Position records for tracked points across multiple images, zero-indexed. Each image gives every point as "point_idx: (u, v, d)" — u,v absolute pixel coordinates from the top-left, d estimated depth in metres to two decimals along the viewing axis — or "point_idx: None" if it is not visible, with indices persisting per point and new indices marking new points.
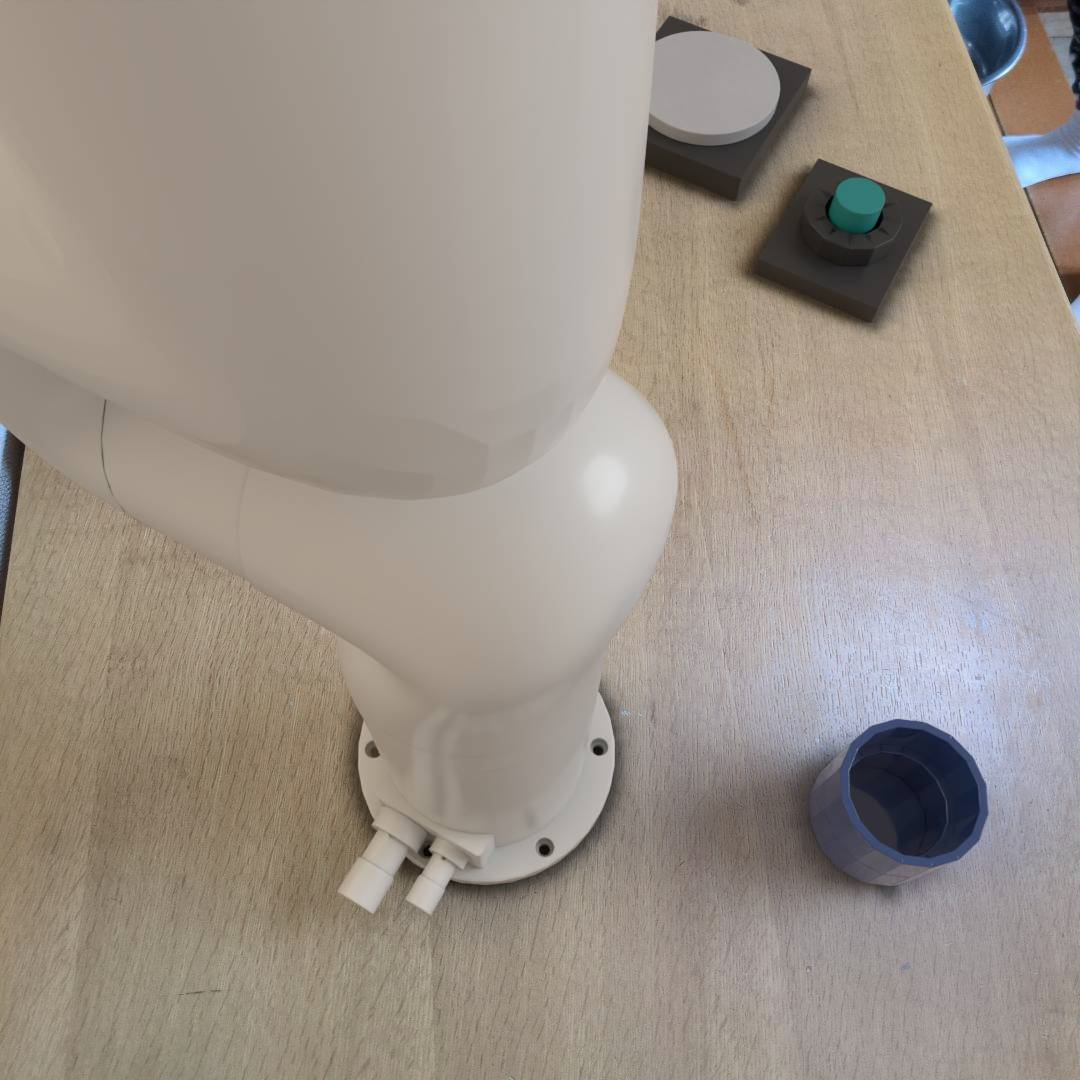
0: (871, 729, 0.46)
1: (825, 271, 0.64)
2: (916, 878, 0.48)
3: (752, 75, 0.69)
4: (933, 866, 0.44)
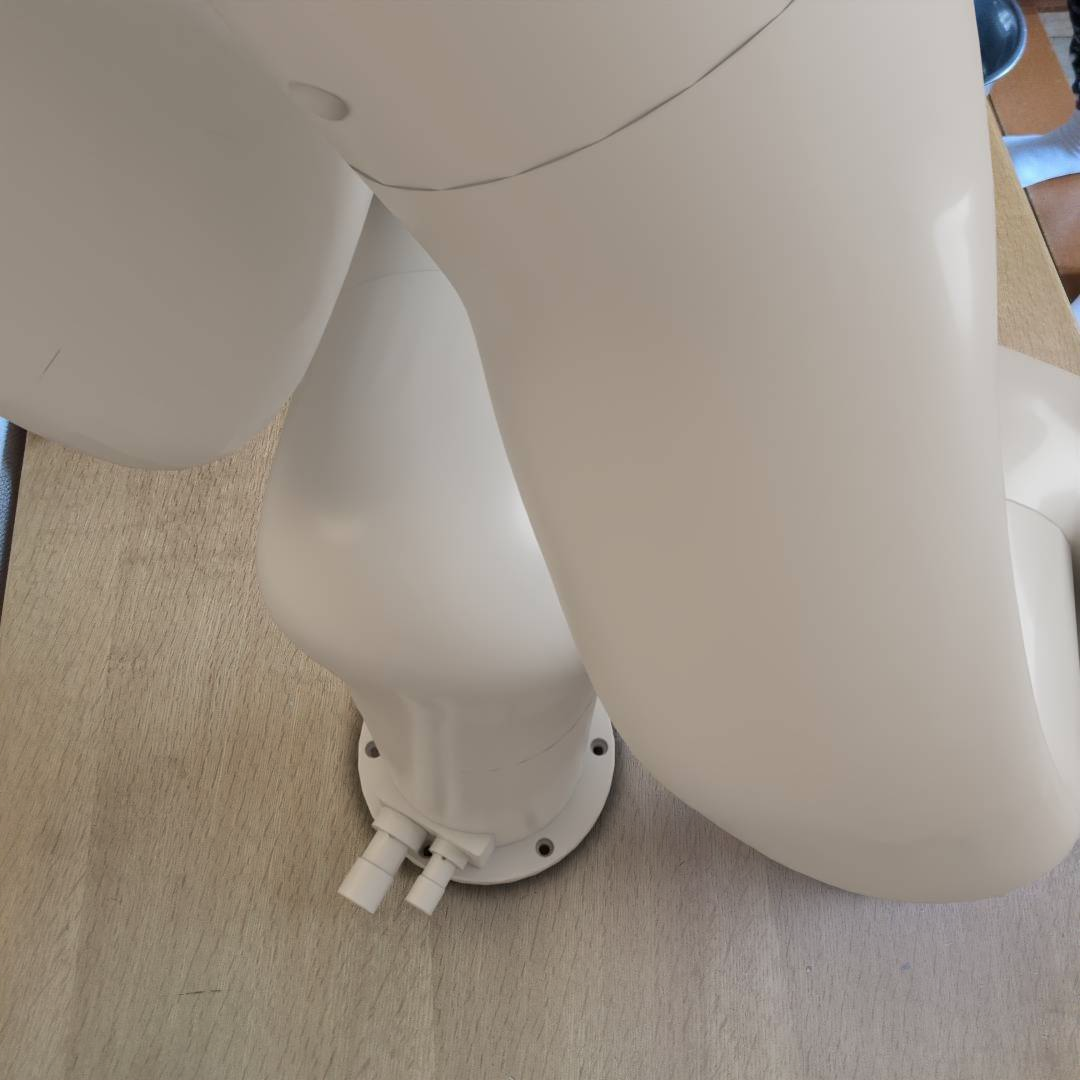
0: None
1: None
2: None
3: None
4: None
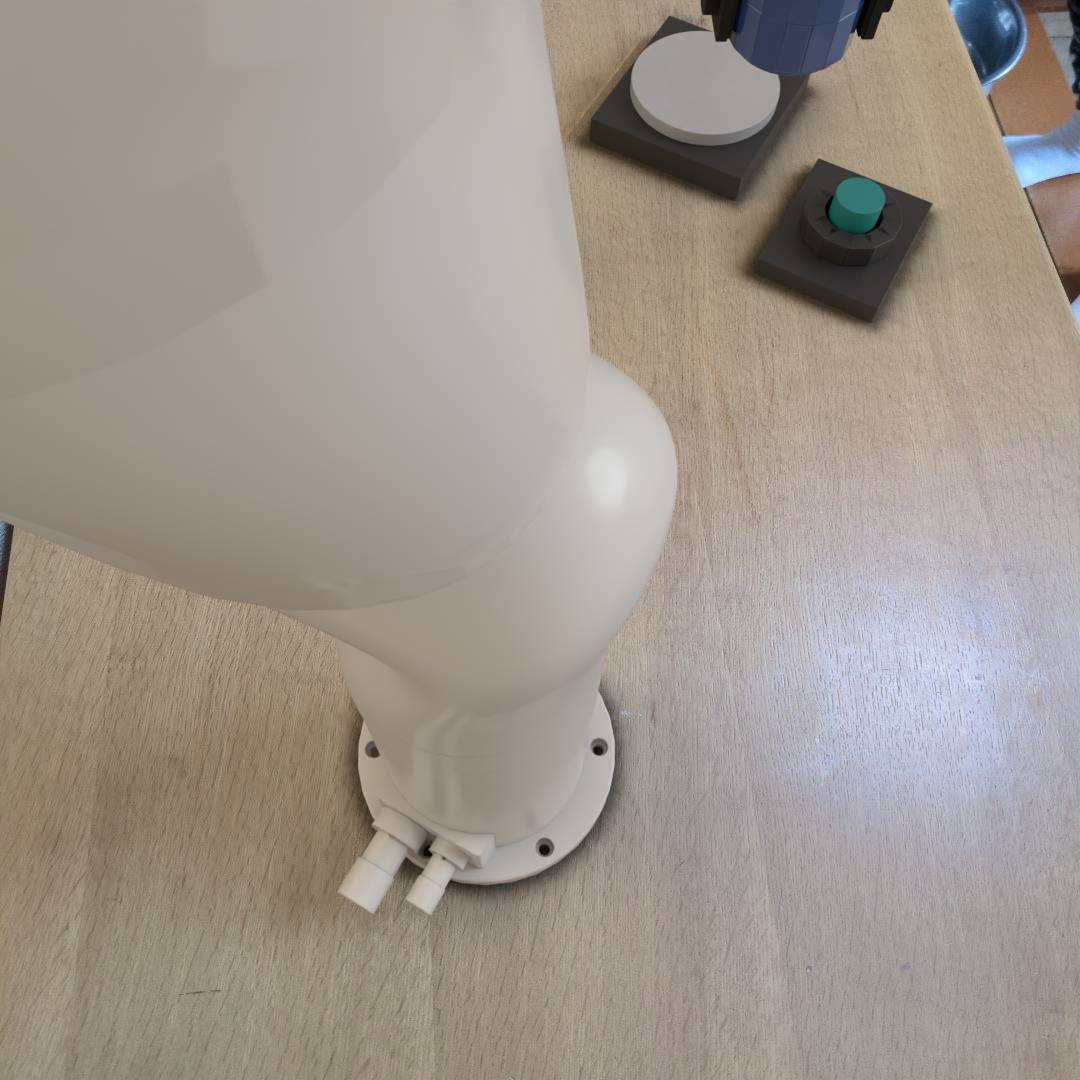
0: None
1: (825, 271, 0.64)
2: (823, 64, 0.51)
3: (752, 75, 0.69)
4: None
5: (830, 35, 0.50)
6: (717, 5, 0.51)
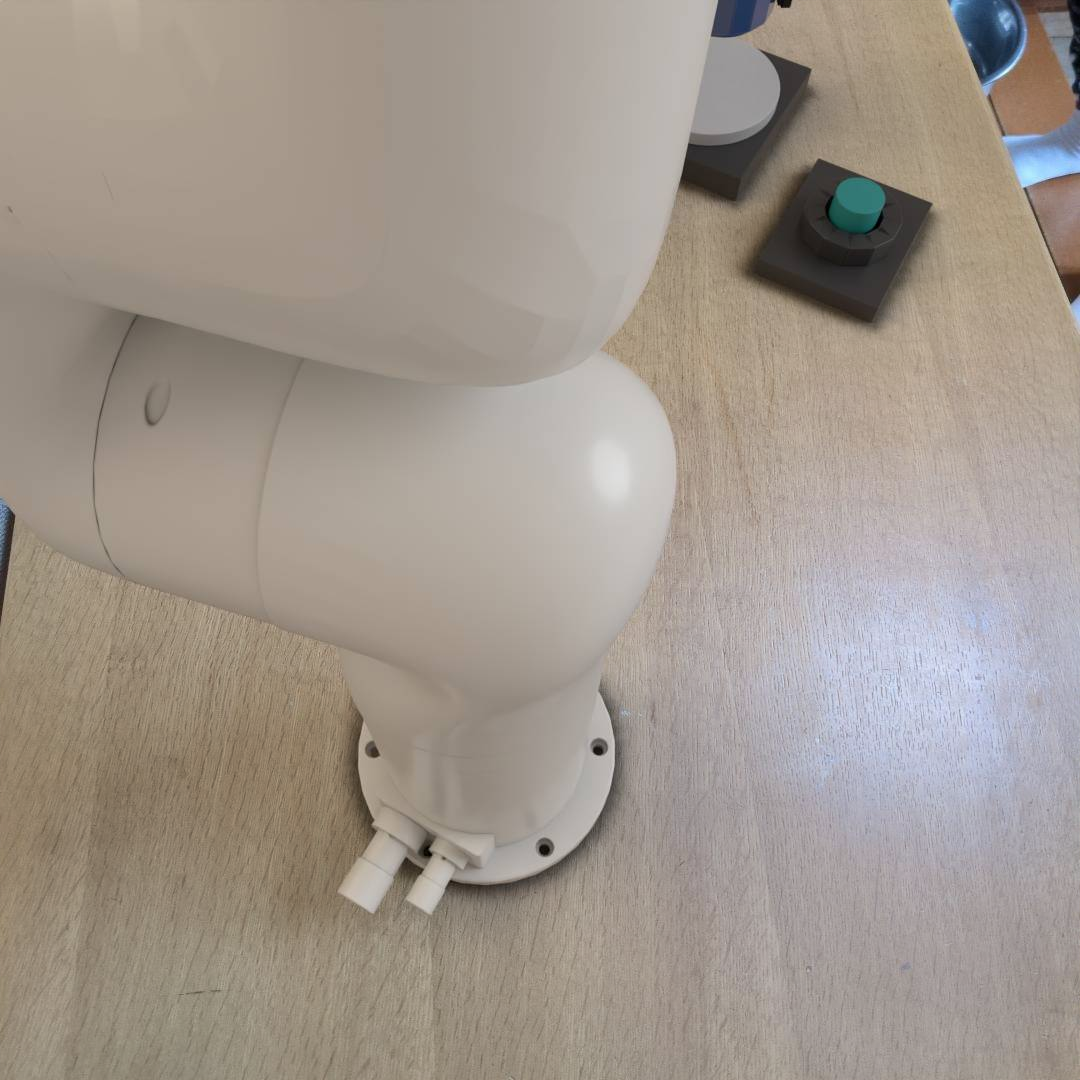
0: None
1: (825, 271, 0.64)
2: (748, 27, 0.62)
3: (752, 75, 0.69)
4: None
5: (753, 2, 0.61)
6: None
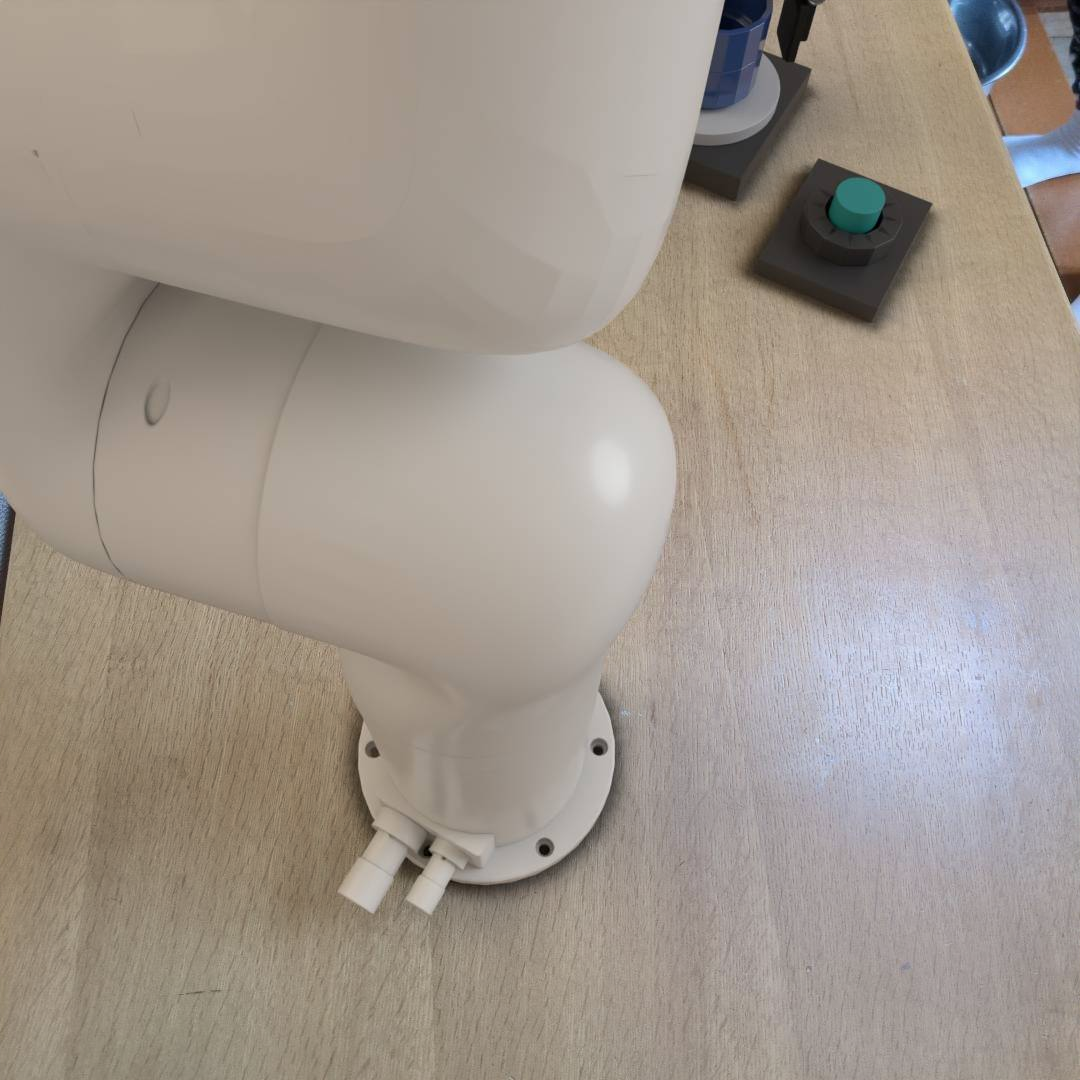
0: None
1: (825, 271, 0.64)
2: (732, 101, 0.67)
3: None
4: (730, 34, 0.62)
5: (736, 79, 0.66)
6: None
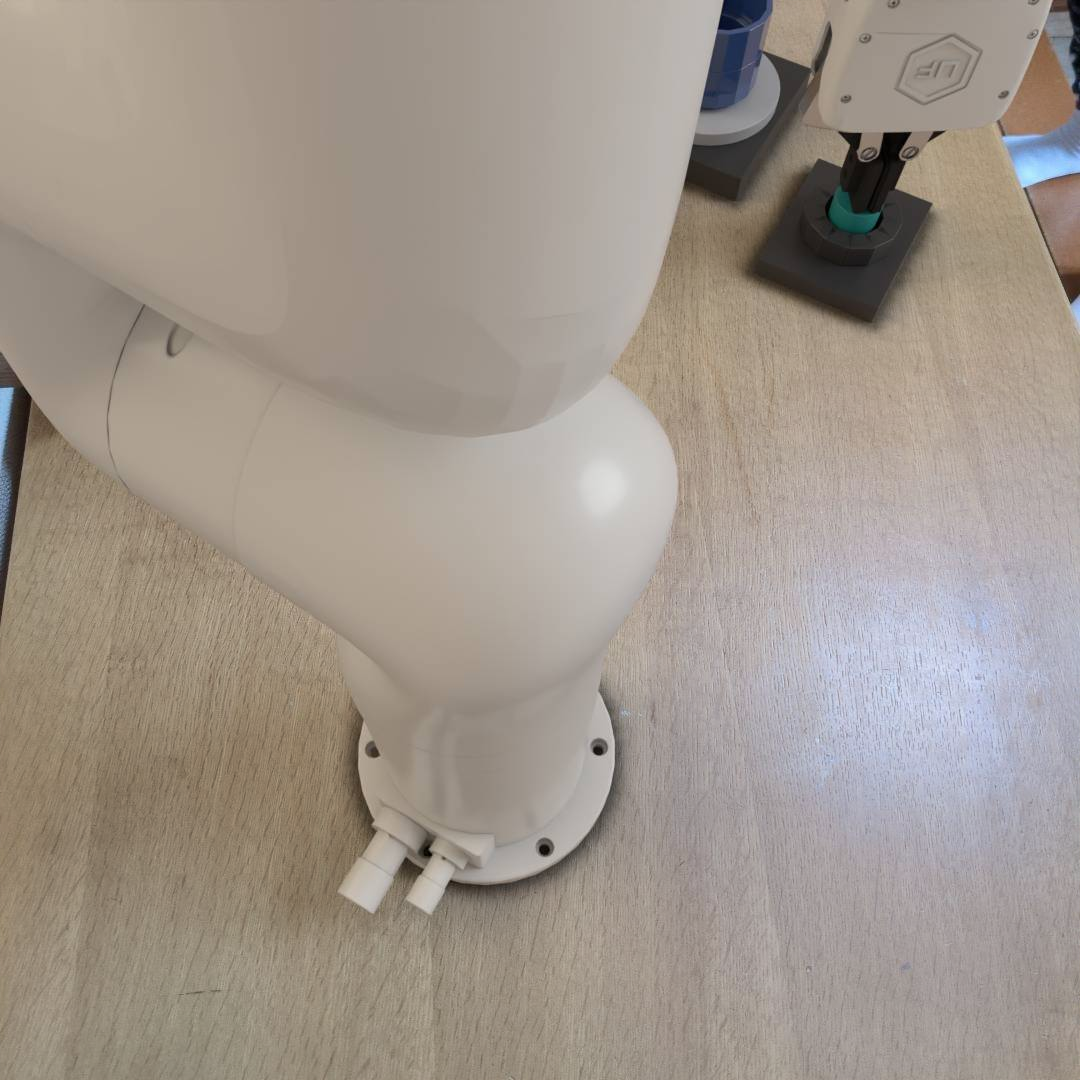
0: None
1: (825, 271, 0.64)
2: (732, 101, 0.67)
3: None
4: (730, 34, 0.62)
5: (736, 79, 0.66)
6: (856, 186, 0.61)
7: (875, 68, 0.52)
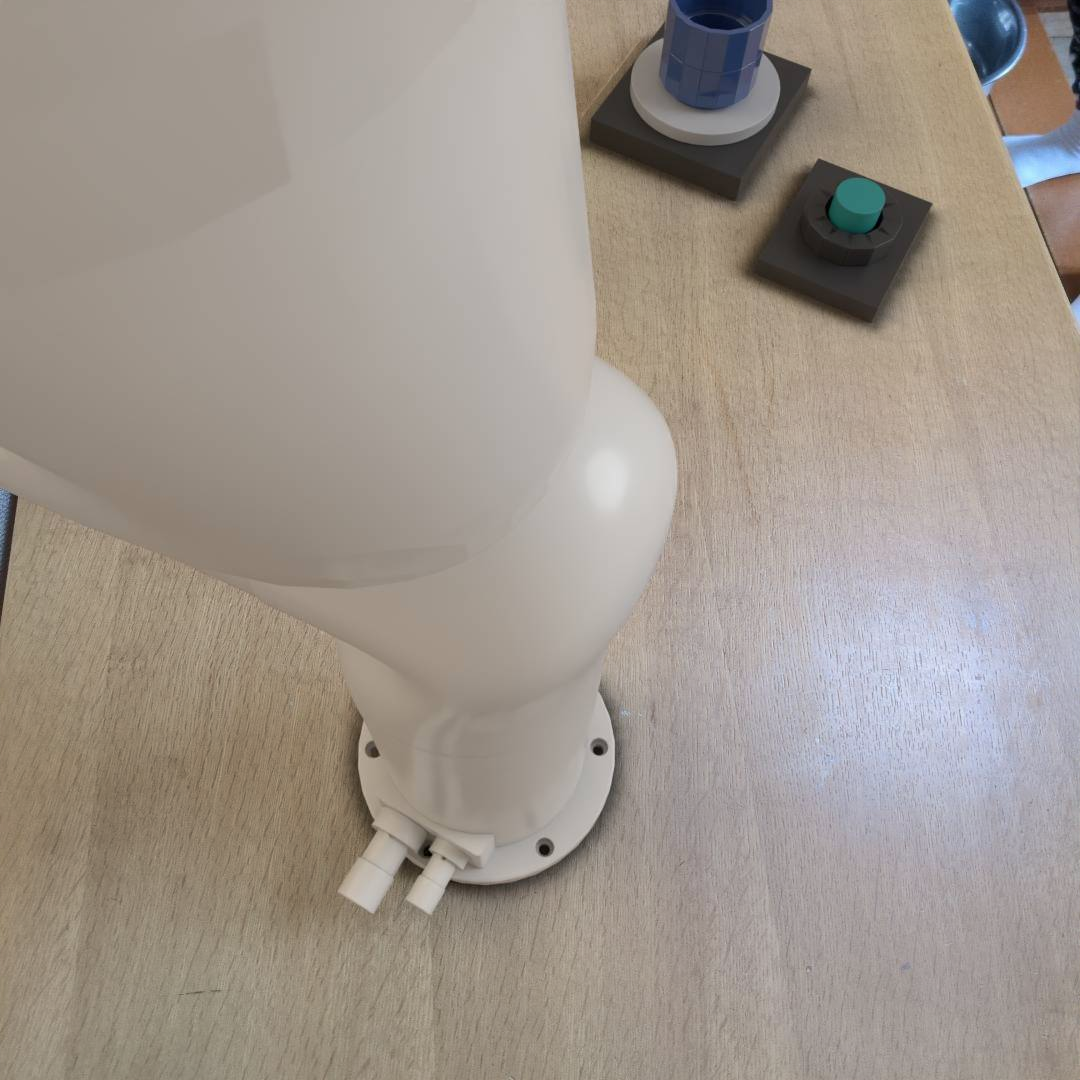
0: None
1: (825, 271, 0.64)
2: (732, 101, 0.67)
3: None
4: (730, 34, 0.62)
5: (736, 79, 0.66)
6: None
7: None
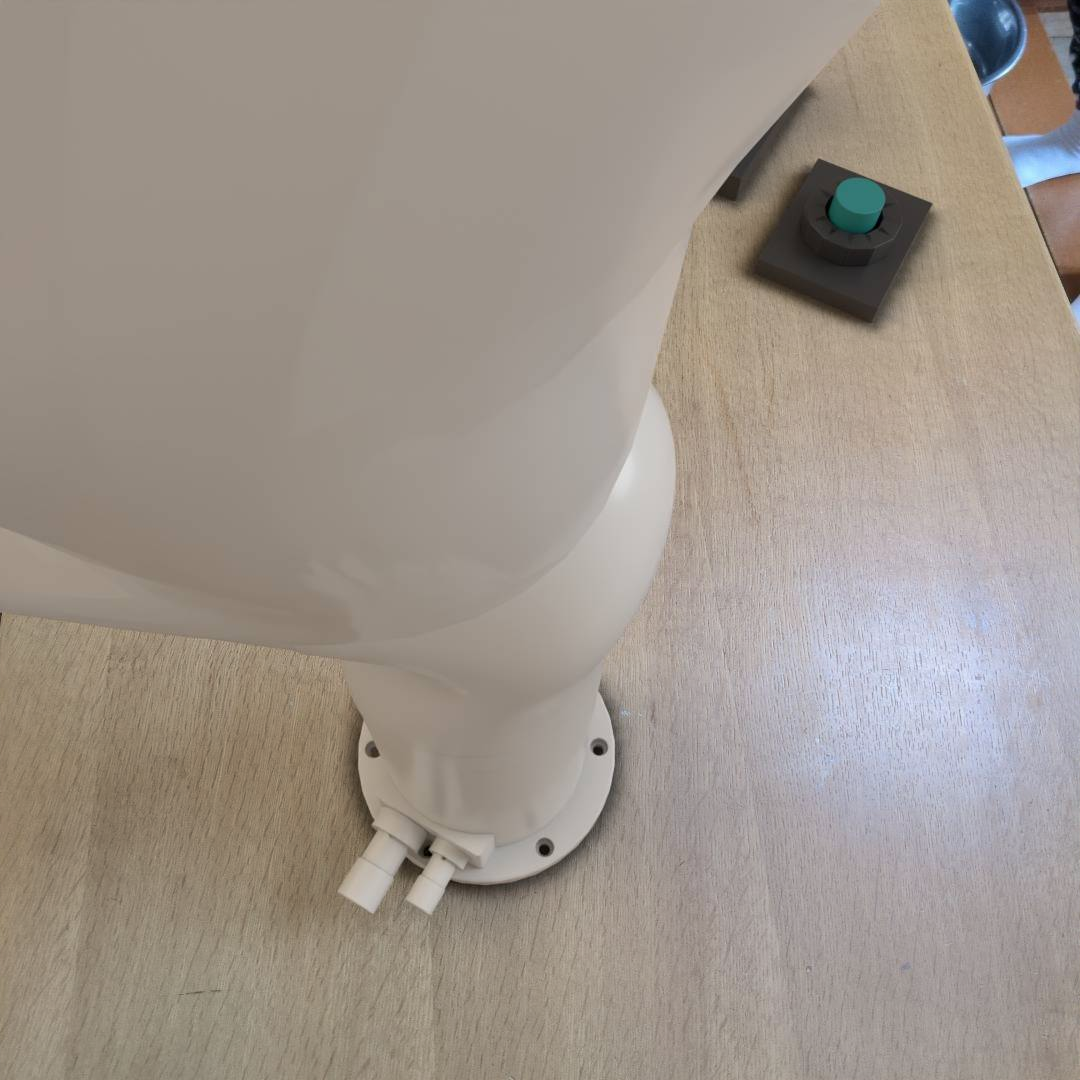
0: None
1: (825, 271, 0.64)
2: None
3: None
4: None
5: None
6: None
7: None
